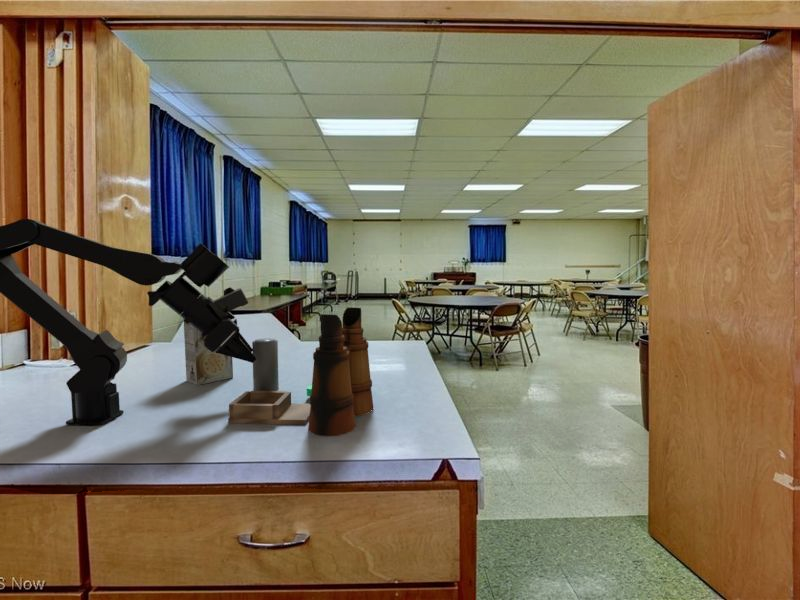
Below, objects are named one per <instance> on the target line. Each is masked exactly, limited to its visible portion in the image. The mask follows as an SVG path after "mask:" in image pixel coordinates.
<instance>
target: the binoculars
mask: <svg viewBox="0 0 800 600" xmlns="http://www.w3.org/2000/svg"><path fill="white" fill-rule="evenodd" d="M320 334H321V335H319V336H318V346H317V347H315V351H314V352H313V353H312V358H313V370H312V382H311V385H312V391H311V395H310V396H309V404H310V405H311V407H310V416H309V420H308V426H307V428H308V429H307V430H308V432H309V433H311V434H313V435H315V436H321V437H335V436H341V435H345V434H348V433H351V432H352V431H354V429H355V428H356V421H355V417H356V416H357V417H358V416H363V415H362V414H364V415H367V414H369V413H368V412H370V411H371V410H374V409H373V408H374V401H373V392H372V387H373V381H372V378H371V371H370V358H369V350H368V348H369V342H368V341H367V338H366V337H364V328H363V327H362V308H361V307H346V308H345V310H344V312H343V314H342V320H341V318H340V317H339V316H338V315H337V314H329V313H328V314H327V313H326V314H324V313H321V314H320ZM371 412H372V411H371ZM371 412H370V413H371ZM366 413H367V414H366Z"/></svg>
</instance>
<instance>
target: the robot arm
mask: <svg viewBox="0 0 800 600" xmlns="http://www.w3.org/2000/svg"><path fill="white" fill-rule="evenodd" d="M34 245H37V246H39V247H43V248H46V249H48V250H52V251H54V252H58V253H62V254H64V255H68V256H70V257H74V258H77V259H81V260H84V261H88V262H89V263H93V264H97V265H99V266H102V267H104V268H107V269H108V270H111V271H113V272H114V273H116V274H118V275H120V276H121V277H124V278H125V279H127V280H130V281H131V282H133V283H135V284H137V285H141V286H145V287H146V286H152V285H156V284H159V283H161V282H162V281H163V280H165V279H166V277H167V276H173V275H178V274H180V272H182V271H183V272H182V273H181V274H180V275H179V276H178V277H177V278H176V279H175V280H174V281H173V282H171V281H169V280H166V281H164V282H163V283H162V284H161V285H160V286H159V287H158V288H156V290H149V291H147V297H148V306H149V307H153V306H154V305H156V304H157V303H158V302H159V301H161V302H162V303H163V304H165V305H166V306H167V307H169V309H171V310H172V311H173V312H174V313H176V314H177V315H178V316H179V317H180V318H182V319H183V320H182V321H183V323H184V322H186V323H187V324H188V323H189V324H191V325H192V326H193V327H194V328H196V329H197V330H198V331H199V332H201V335H202V336H203V337H204V346H205V347H206V348H207V349H209V350H210V351H211V352H212V353H213V352H214V351H215V353H217V354H218V353H219V354H223V355H227V356H230V357H232V358H233V359H239V360H241V361H245V362H249V363H250V364H251V363H252V364H253V362H254V361H255V360H256V357H255V356H254V355H253V350H252V347H251V345H250V344H249V342H248V341H247V340H246V338H245V337H244V336H243V334H241V332H240V327H239V326H238V320H237V318H236V317H235V315H234V314H232V311H233V310H236V309H237V308H239V307H244V306H246V305H247V304H249V301H248V299H247V297H246V295H245V293H244V291H243V289H242V287H241V288H237V289H236V290H235V289H234V288H232V287H231V286H229V287H227V288H225V289H223V295H222V296H219V298H216V299H213V298H211V297H210V296H205V295H204V294H203V293H202V292H201V291H199V290H198V289H197V288H196V287H194V286H193V285H192V284H191V283H190V282H192V283H193V284H194V285H195V286H197V287H199V288H202V287H203V286H206V287H208V288H209V287H210V286H212V285H213V284H214V282H216V281H217V280H218V279H219V278H220V277H221V276H222V275H223V274H224V273H226V271H227V270H228V269H229V268H230V266H229V265H228V264H227V263H226V262H225V261H224V260H222V258H220V257H219V256H218V255H217V254H215V253H213V252H212V251H211V250H209V248H207V247H206V246H205V245H204V244H203V243H199V244H198V245H197V246H196V247H195V249H194V250H193V251H192V252H191V253H190V254H189V255H188V256H187V257H186V258H185V259H184V260H183V261H182V262H181V263H180V262H178V261H173V262H170V261H165V259H163V258H162V257H161V256H159V255H156V254H151V253H146V252H141V251H136V250H135V251H134V250H129V249H123V248H118V247H113V246H111V245H107V244H105V243H102V242H97V241H96V240H92V239H89V238H86V237H84V236H80V235H77V234H75V233H72V232H69V231H65V230H63V229H60V228H56V227H55V226H54V227H53V226H50V225H47V224H45V223H44V222H42V221H40V220H35V219H30V218H21V219H18V220H16V221H14V222H11V223H8V224H4V225H0V294H1V295H3V297H5V298H6V299H8V300H9V301H10V302H11V303H12V304H13V305H15V306H16V307H17V308H18V309H19V310H21V311H22V312H23V313H24V314H26V315H27V316H28V317H29V318H30V319H32V320H33V321H34V322H36V323H37V325H39V326H40V327H41V328H42V329H44V330H45V331H46V332H47V333H49V334H50V335H51V336H52V337H53V338H55V339H56V340H57V341H58V342H59V343H61V344H62V345H63V346H64V347H65V349H67V352H68V354H69V356H70V358H71V360H72V361H73V362H74V364H75V365H76V367H77V368H78V371H77V372H76V373H75V374H73V375H72V376H71V377H70V378H69V379H68V380H67V381H66V386H67V389H68V390H69V392H70V395H71V396H70V397H71V398H70V399H71V413H72V416H71V417H72V418H70V419H68V420H66V421H65V425H76V424H82V425H85V426H86V425H87V426H88V425H89V426H90V425H91V426H94V425H95V426H98V425H99V426H100V425H103V424H105V423H106V422H109V421H110V420H113V419H115V418H116V417H119V416H120V415H122V414H124V410H123V409H122V410H121V409H120V408H121V406H120V393H119V391H117V387H118V386H117V383H114V382H112V381H113V380H114V379H115V377H116V375H117V374H119V372H120V371H122V369H123V368H124V366H126V364H127V362H128V353H127V351H126V349H125V348H124V347H123V346H124V345H125V343H124V342H121V341H120V340H118V339H116V338H115V337H114V336H113V335H112V333H111V331H109V330H108V329H105V330H103V331H101V332H100V333H97V332H94V330H91V329H89V328H88V327H86V326H85V325H84V324H83V323H81V322H80V321H79V319H77V318H76V317H75V316H73V315H72V314H71V312H69V311H68V310H66V309H65V308H64V307H63V306H62V305H60V304H59V303H58V302H57V301H56V300H55V299H54V298H53V297H52V296H50V295H49V294H48V293H47V292H45V291H44V290H43V289H42V288H41V287H39V285H37V284H36V283H34V281H32V280H31V279H30V278H29V277H28V276H27V275H25V274H24V273H23V272H22V270H21V268H20V267H19V265H18V263H17V260H15V258H14V256H13V255H14V254H17V253H20V252H22V251H24V250H25V249H27V248H30V247H31V246H34ZM184 277H186V278H187V279H189V281H190V282H189V281H187V280H186V279H185V278H184Z"/></svg>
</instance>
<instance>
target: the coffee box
mask: <svg viewBox="0 0 800 600" xmlns="http://www.w3.org/2000/svg"><path fill="white" fill-rule="evenodd" d="M183 335H184V336H183V337H184V354H185V355H184V357H185V373H186V374H185V376H186V377H185V381H187V382H188V383H191V384H194V385H196V386H200V385H204V384H209V383H214V382H219V381H223V380H224V381H225V380H228V379H233V378H234V369H233V368H234V367H233V357H230V356H227V355H223V354H219V353H218V354H217V353H215V351H214V352H213V353H212V352H211V351H210V350H209V349H207V348H206V347H205V346H204V337H203V336H202V335H201V332H199V331H198V330H197V329H196V328H194V327H193V326H192V325H191V324H189V323H188V324H187V323H186V322H184V321H183Z"/></svg>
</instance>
